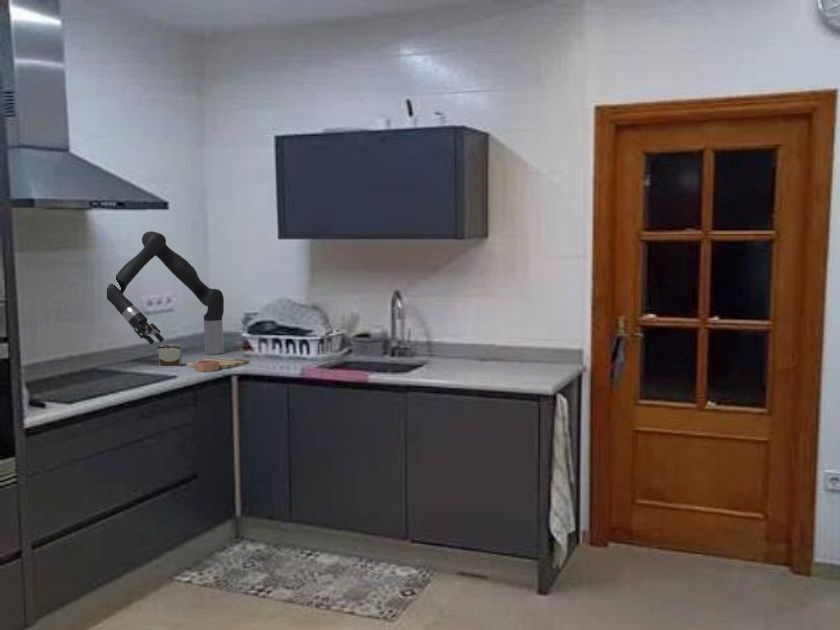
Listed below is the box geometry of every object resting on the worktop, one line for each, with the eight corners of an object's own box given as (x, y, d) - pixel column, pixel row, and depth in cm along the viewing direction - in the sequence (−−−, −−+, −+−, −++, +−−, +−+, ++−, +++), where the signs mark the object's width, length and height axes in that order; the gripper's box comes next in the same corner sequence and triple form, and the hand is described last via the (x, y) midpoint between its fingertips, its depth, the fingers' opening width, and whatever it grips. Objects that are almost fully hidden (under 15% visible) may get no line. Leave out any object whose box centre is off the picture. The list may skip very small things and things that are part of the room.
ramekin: (205, 368, 372) (204, 359, 372) (223, 369, 368) (223, 360, 368) (191, 371, 363) (190, 363, 363) (209, 373, 359) (209, 364, 359)
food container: (187, 364, 384) (186, 343, 383) (182, 366, 378) (181, 345, 377) (162, 364, 385) (161, 343, 384) (156, 366, 379) (155, 345, 378)
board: (210, 361, 394) (210, 357, 394) (249, 363, 386) (249, 359, 385) (186, 366, 377) (186, 362, 377) (226, 368, 369) (226, 364, 369)
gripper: (131, 313, 376) (154, 338, 374) (147, 310, 390) (170, 334, 388) (121, 324, 378) (144, 349, 376) (138, 321, 391) (161, 345, 390)
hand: (157, 342), depth 382 cm, fingers open, 8 cm apart
